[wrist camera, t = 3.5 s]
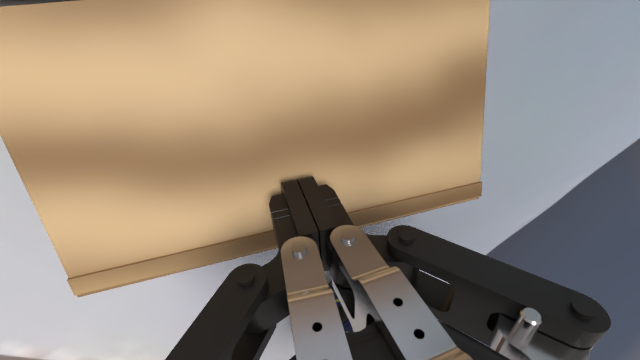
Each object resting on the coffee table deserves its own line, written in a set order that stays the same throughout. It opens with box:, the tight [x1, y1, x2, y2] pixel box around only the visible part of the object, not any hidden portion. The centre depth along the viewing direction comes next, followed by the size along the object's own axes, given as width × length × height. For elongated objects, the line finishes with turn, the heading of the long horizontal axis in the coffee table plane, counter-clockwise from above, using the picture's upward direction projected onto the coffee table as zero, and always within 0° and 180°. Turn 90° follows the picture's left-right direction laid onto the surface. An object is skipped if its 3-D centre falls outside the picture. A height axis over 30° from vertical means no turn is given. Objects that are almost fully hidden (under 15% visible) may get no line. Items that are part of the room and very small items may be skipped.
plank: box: [0, 0, 490, 297], centre depth 15 cm, size 11×20×3 cm, turn 93°
